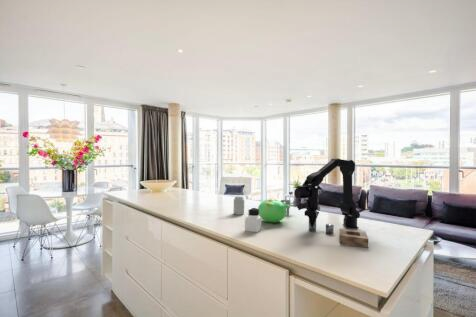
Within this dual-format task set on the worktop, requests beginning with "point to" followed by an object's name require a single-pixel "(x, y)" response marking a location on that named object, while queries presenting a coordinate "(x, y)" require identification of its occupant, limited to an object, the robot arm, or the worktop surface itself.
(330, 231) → the short pin
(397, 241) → the worktop surface
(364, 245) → the hole block
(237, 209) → the can
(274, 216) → the green rounded lump
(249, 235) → the worktop surface
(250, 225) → the medicine bottle
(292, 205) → the mechanical component
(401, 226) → the worktop surface
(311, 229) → the tall pin
